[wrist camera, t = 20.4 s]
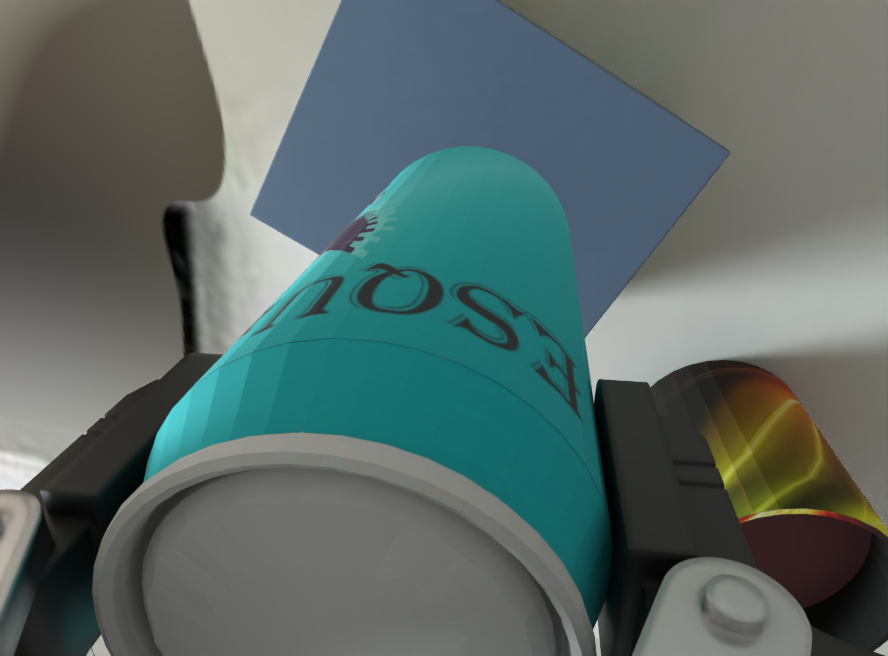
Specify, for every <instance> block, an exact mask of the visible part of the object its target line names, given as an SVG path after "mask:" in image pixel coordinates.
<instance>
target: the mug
mask: <svg viewBox="0 0 888 656" xmlns="http://www.w3.org/2000/svg"><path fill="white" fill-rule="evenodd" d="M650 389H651V392H652V396H653V399H654V402H655V406H656V409H657V412H658V416H672V417H684V418H685V419H686V420H687V421H688V422H689V423H690V424H691V425H692V426H693V427H694V428H695V429H696V430H697V431H698V432H699V433H701V434H702V435H703V436H704V437H705V438H706V439H707V442H708V444H709V447H710V449H711V452H712V454H713V457H714V459H715V462H716V468H718V469H719V472H720V474H721V477H722V479H723V482H724V489H727V492H728V494H729V497H730V499H731V502H732V505H733V507H734V510H735V512H736V515H737V517H738V520H739V522H740V525H741V527H742V530H743V532H744V535H745V537H746V540H747V542H748V545H749V547H750V550H751V552H752V555H753V557H754V560H755V562H756V565H757V567H758V570H759V571H761V572H762V573H764V574H766V575H768V576H769V577H771V578H772V579H774V580H775V581H776V582H778V583H779V584H780V585H782V586H783V587H784V588H785V589H786V590H787V591H788V592H789V593H790V594H791V595H792V596H793V597H794V598H795V599H796V600H797V602H798V603H799V604H800V606H801V607H802V609H803V610H804V612H805V614H806V616H807V618H808V620H809V623H810V625H812V626H813V627H815V628H817V629H818V630H820V631H822V632H824V633H826V634H828V635H830V636H833V637H835V638H837V639H840V640H842V641H845V642H847V643H850V644H853V645H856V646H859V647H862V648H864V649H867V650H870V651H874V650H876V649H877V648H878V647H880V646H881V645H882V644H883V643H885V642H886V641H887V640H888V530H887V528H886V527H885V525H884V524H883V522H882V521H881V519H880V518H879V517H878V515H877V514H876V512H875V511H874V509H873V508H872V507H871V505H870V504H869V502H868V501H867V499H866V498H865V496H864V495H863V494H862V492H861V491H860V489H859V488H858V486H857V485H856V483H855V482H854V481H853V479H852V478H851V476H850V475H849V473H848V472H847V471H846V469H845V468H844V466H843V465H842V463H841V462H840V460H839V459H838V458H837V456H836V455H835V453H834V452H833V450H832V449H831V447H830V446H829V445H828V443H827V442H826V440H825V439H824V437H823V436H822V435H821V433H820V432H819V430H818V429H817V427H816V426H815V424H814V423H813V422H812V420H811V419H810V417H809V416H808V414H807V413H806V411H805V410H804V409H803V407H802V406H801V404H800V403H799V401H798V400H797V399H796V397H795V396H794V394H793V393H792V392H791V391H790V389H789V388H788V387H787V385H786V384H785V383H784V382H782V381H781V380H780V379H779V378H777V377H776V376H775V375H774V374H772V373H770V372H768V371H766V370H764V369H762V368H760V367H757V366H754V365H750V364H747V363H743V362H736V361H726V360H722V361H707V362H702V363H698V364H693V365H689V366H686V367H684V368H681V369H679V370H676V371H674V372H672V373H670V374H669V375H667V376H665V377H664V378H662V379H661V380H659V381H658V382H656V383H655V384H654V385H653V386H652V387H651V388H650Z"/></svg>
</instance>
